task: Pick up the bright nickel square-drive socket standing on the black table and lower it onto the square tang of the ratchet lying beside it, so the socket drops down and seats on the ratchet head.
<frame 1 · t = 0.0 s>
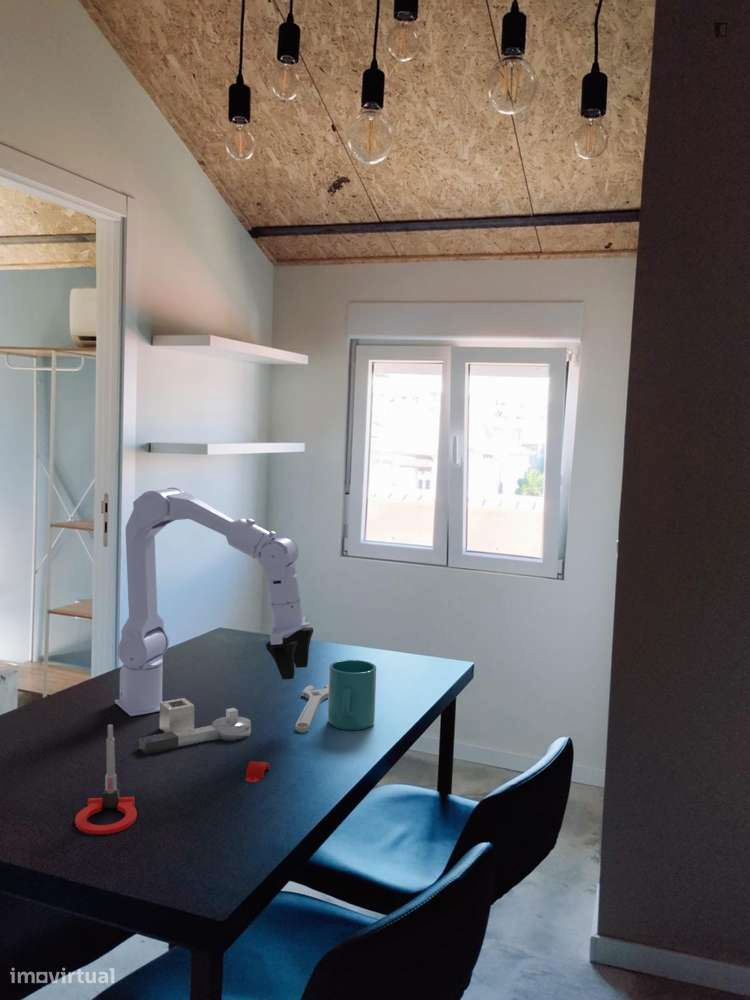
hand: (295, 672, 160), 11 cm above the table, tool pointing down, fingers open, 7 cm apart
pipe clamp: (257, 776, 140), on the table
ratchet: (231, 733, 157), on the table
adjustable wrench: (308, 711, 171), on the table
tow hook: (106, 821, 123), on the table
socket: (176, 729, 158), on the table
cup: (349, 726, 163), on the table
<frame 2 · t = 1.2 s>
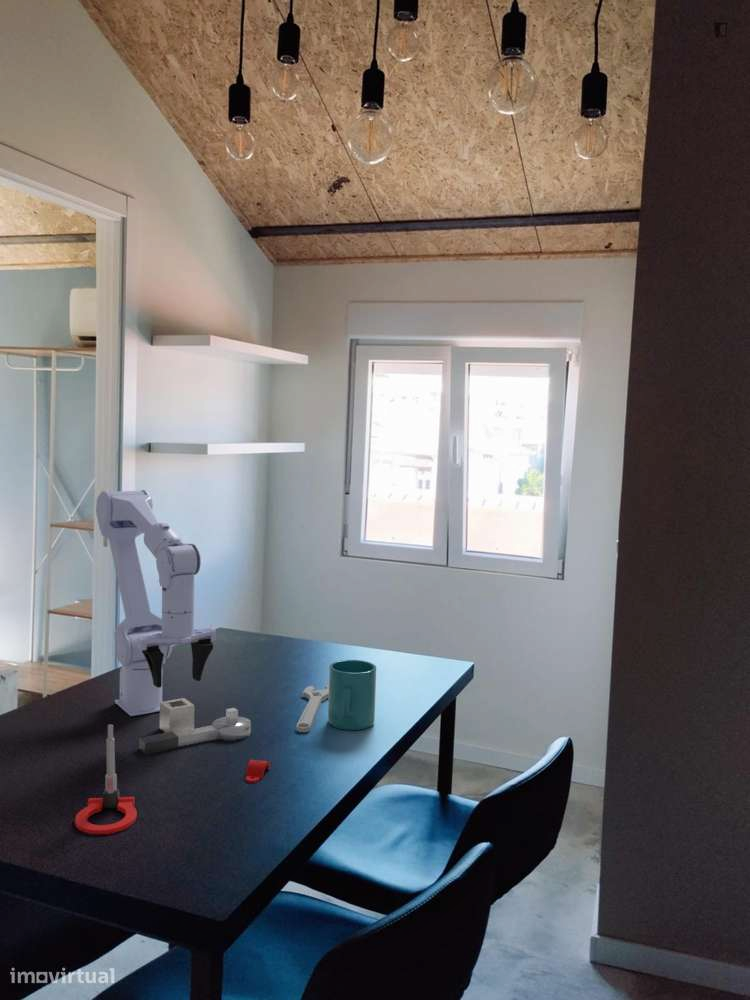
hand: (177, 682, 157), 9 cm above the table, tool pointing down, fingers open, 7 cm apart
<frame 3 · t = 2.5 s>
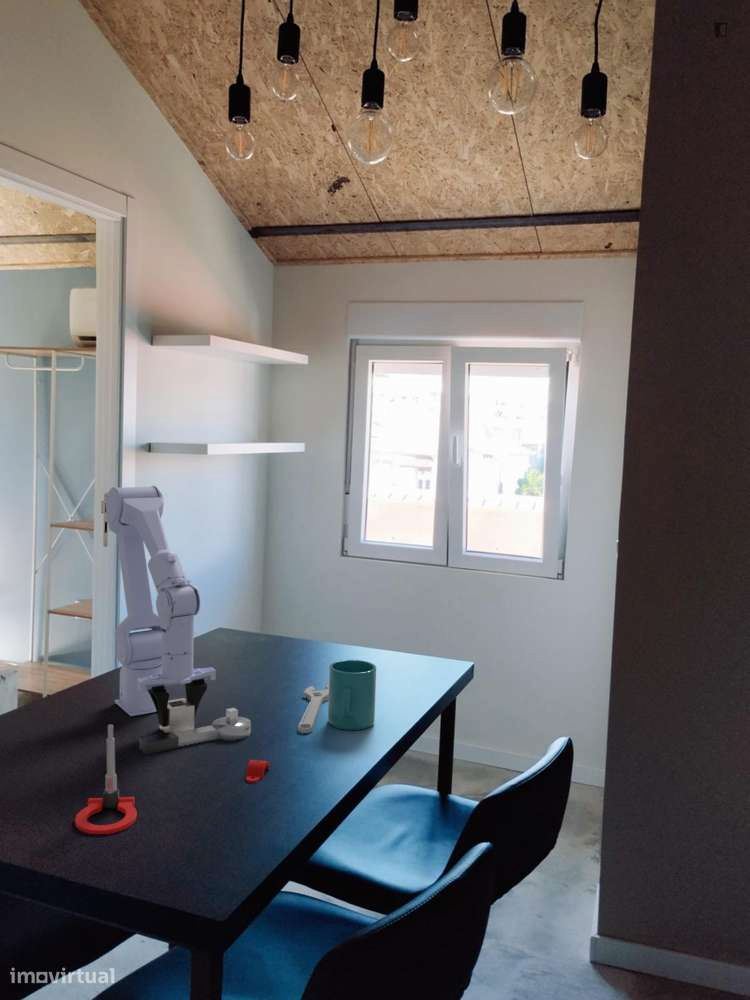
hand: (176, 722, 157), 1 cm above the table, tool pointing down, fingers closed on socket, 5 cm apart
socket: (176, 729, 158), on the table, touching gripper
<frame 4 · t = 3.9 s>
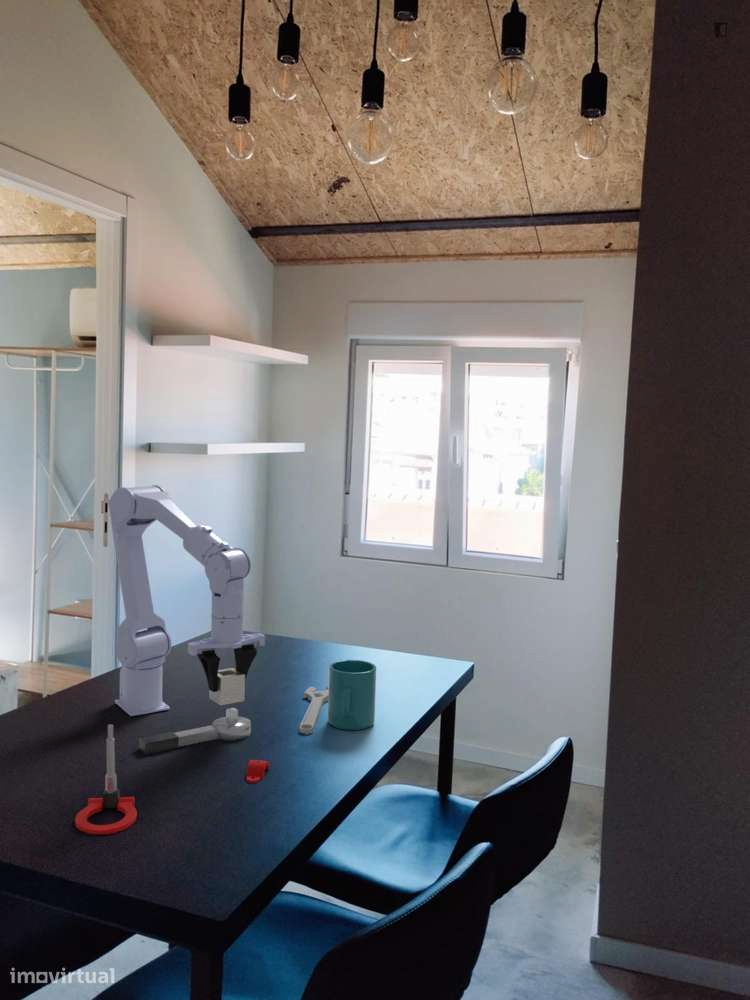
hand: (226, 688, 156), 9 cm above the table, tool pointing down, fingers closed on socket, 5 cm apart
socket: (226, 699, 156), point 6 cm above the table, touching gripper
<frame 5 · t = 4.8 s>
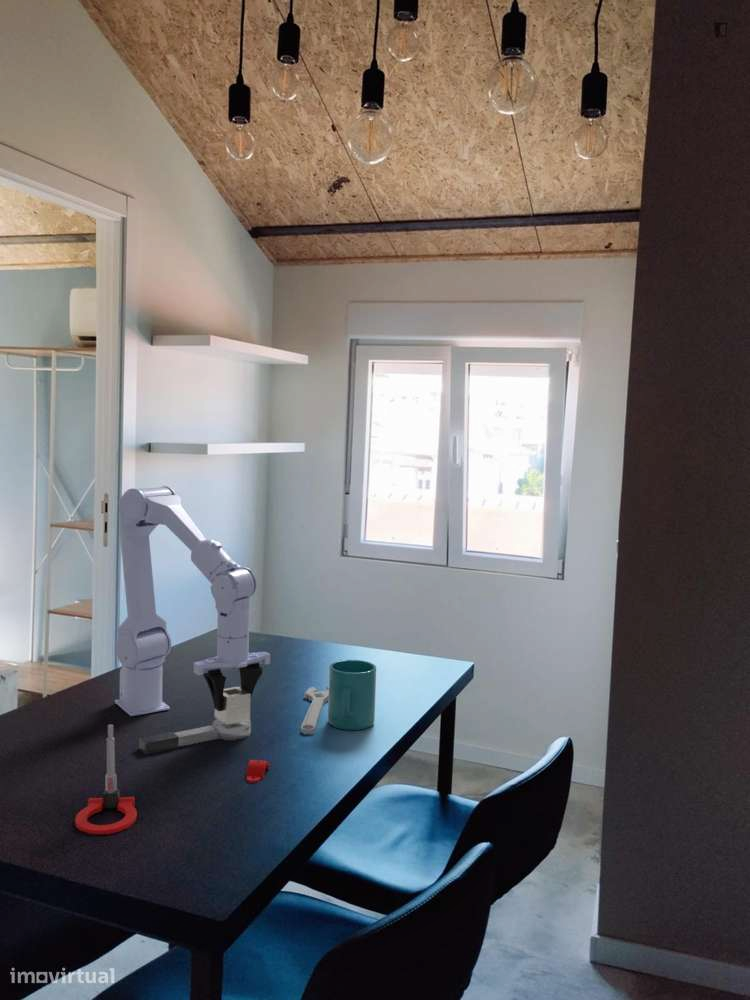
hand: (232, 706, 156), 5 cm above the table, tool pointing down, fingers closed on socket, 5 cm apart
socket: (232, 718, 157), point 3 cm above the table, touching gripper
when the fingers open (4 cm above the table, at t = 5.4 s): socket stays where it is, resting on ratchet.
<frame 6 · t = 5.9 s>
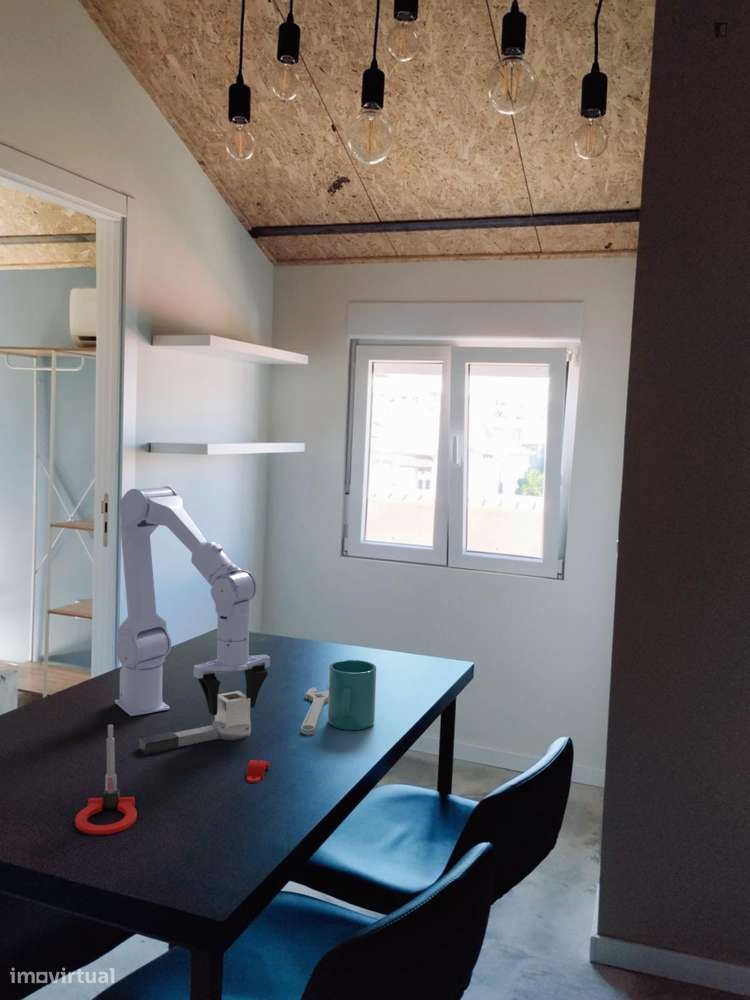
hand: (231, 709, 157), 4 cm above the table, tool pointing down, fingers open, 7 cm apart
ratchet: (231, 733, 157), on the table, touching socket
socket: (232, 722, 157), point 2 cm above the table, touching ratchet
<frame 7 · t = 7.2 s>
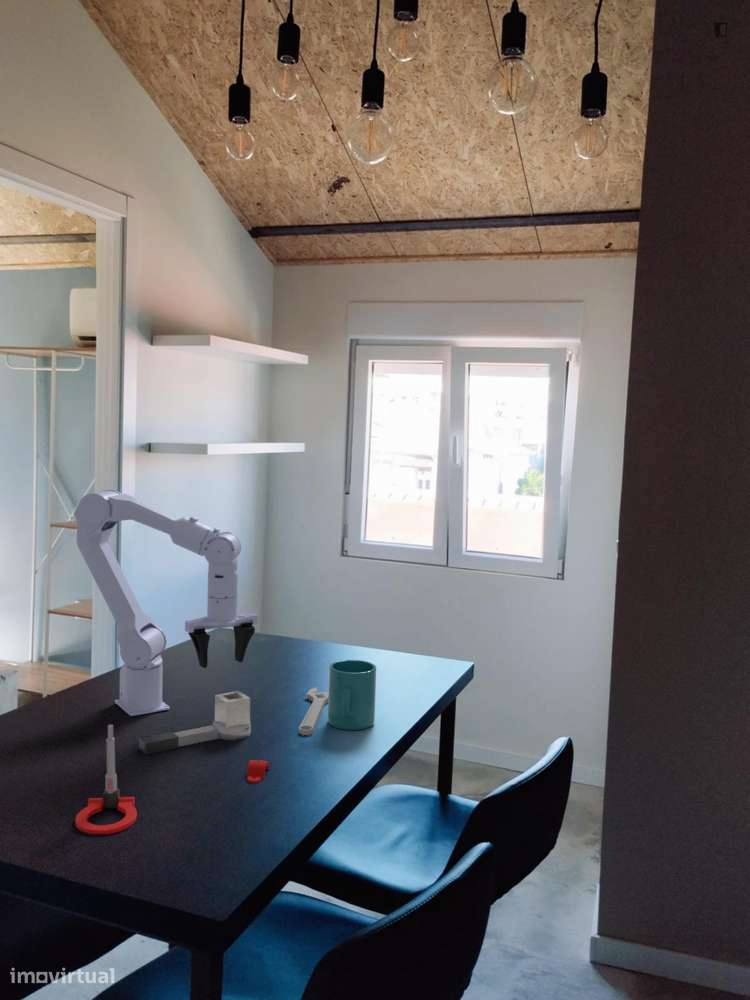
hand: (221, 663, 166), 10 cm above the table, tool pointing down, fingers open, 7 cm apart
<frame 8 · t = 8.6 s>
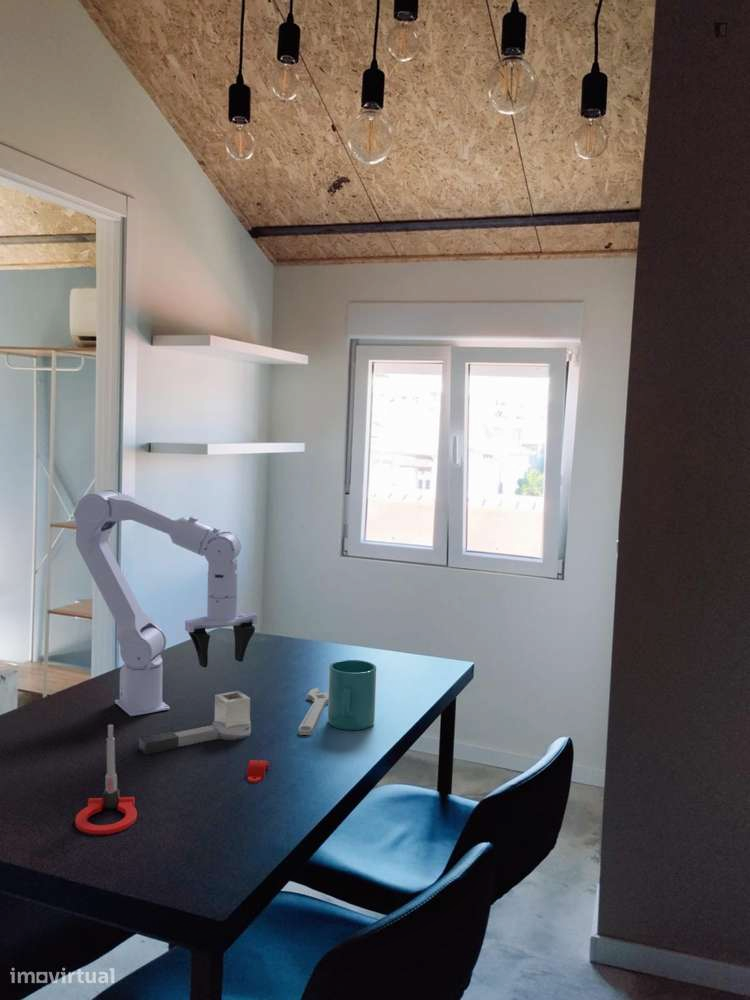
hand: (221, 663, 167), 10 cm above the table, tool pointing down, fingers open, 7 cm apart
at the end: socket 0.0 cm off-centre on the ratchet, point 2.0 cm above the ratchet's base; socket tilted 0°; the gripper is holding nothing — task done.
